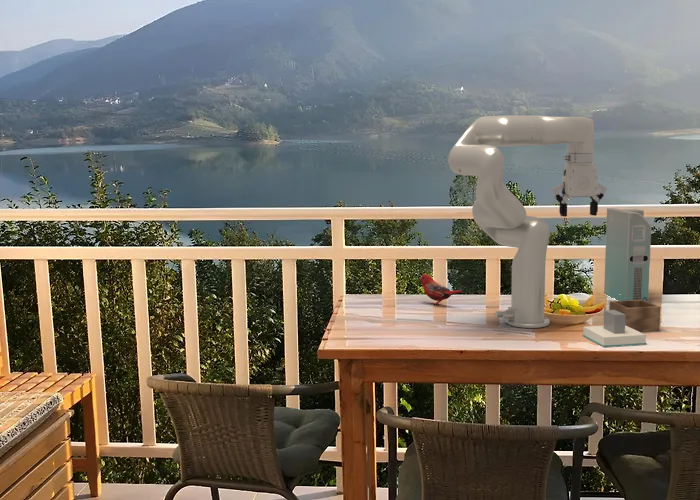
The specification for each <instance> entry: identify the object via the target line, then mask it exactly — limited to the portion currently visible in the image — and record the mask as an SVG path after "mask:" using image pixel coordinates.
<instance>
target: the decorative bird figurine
mask: <svg viewBox="0 0 700 500" xmlns="http://www.w3.org/2000/svg"><path fill="white" fill-rule="evenodd" d="M419 281H421V285H422V288H423V291H424V293H425V295H426V296H427V297H428V298H429V299H431V300H433V301H434V302H430V304H431V305H433V304H437V305H436V306H439V305H440V306H441V305H442V304H441V302H442V301H443V300H448V299H449V298H450V297H452V296H453V295H456V294H459V293H462V292H463V290H450V289H449V288H448V287H446V286H445V285H443V284H441V283H439V282H437V281H435V280H434V279H433V278H432V277H431V276H430V275H429V274H427V273H423V274H422V275H421V276H420V278H419Z"/></svg>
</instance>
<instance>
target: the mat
mask: <svg viewBox="0 0 700 500" xmlns="http://www.w3.org/2000/svg"><path fill="white" fill-rule="evenodd" d="M582 337H583V338H586V339H587V340H590V341H591V342H592V343H593V342H594V343H595V344H597V345H599V346H601V347H602V346H603V348H610V347H609V346H616V347H623V346H622V345H632V346H639V345H638V344H646V345H647V342H646V343H638V344H622V345H606V346H604V345H602V344H600V343H598V342H596V341H594V340H592V339H590V338H589V337H587V336H585V335H583V334H582Z"/></svg>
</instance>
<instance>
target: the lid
mask: <svg viewBox="0 0 700 500" xmlns="http://www.w3.org/2000/svg"><path fill="white" fill-rule="evenodd" d="M582 328H583V329H582V330H583V331H582V336H583V335H585V336H587V337H589V338H590V339H592V340H594V341H596V342H598V343H600V344H602V345H604V346H606V345H622V344H638V343H646V344H647V340H646V339H647V335H646V334H644V332H639V331H636V330H634V329H632V328H630V327H628V326H626V325H625V314H623V313H620V312H618V311H616V310H609V309H607V310H603V325H593V326H592V325H590V326H583V327H582Z"/></svg>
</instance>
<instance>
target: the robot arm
mask: <svg viewBox="0 0 700 500" xmlns="http://www.w3.org/2000/svg"><path fill="white" fill-rule="evenodd" d="M594 133H595V122H594V120H593V119H592V118H591V117H590V118H589V117H586V116H549V115H531V114H530V115H486V116H481V117H478V118H477V119H475V121H473V122H472V123H471V124H470V125H469V126H468V127H467V129H465V131H464V132H463V134H462V135H461V136H460V137H459V139H458V140H457V141H456V143H455V144H454V145H453V147H452V148H451V149H450V151H449V153H448V158H447V159H448V162H447V163H448V166H449V169H450V170H451V171H452V172H453V173H454V174H456V175H459V176H472V177H473V176H474V177H475V176H476V177H478V178H477V183H476V190H475V198H476V199H475V200H474V202H473V204H472V209H471V210H472V211H471V213H472V217H473V220H474V222H475V224H476V225H477V226H478V227H479V228H480V229H481V230H482V231H483V233H485V234H486V235H487V236H488V237H490V239H492V240H493V241H494V242H495V243H496V244H498V245H501V246H504V247H508V248H516V249H517V252H516V254H515V255H514V257H513V259H512V262H511V263H512V264H511V299H510V300H511V304H510V305H511V306H507V309H506V310H499V311H498V310H497V311H495V313H494V316H495V318H496V319H497V318H498V319H499V318H502V319H505V323H506V324H507V325H508V326H512V327H516V328H521V329H522V328H524V329H539V328H545V327H547V326H549V325H550V323H551V322H550V319H549V318H548V317H545V304H546V303H545V301H546V300H545V299H546V292H545V291H546V259H547V250H548V246H549V240H550V234H551V232H550V230H551V229H550V226H549V224H548V223H547V222H546V221H545V220H544V219H543V218H540V217H537V216H530V215H527V210H526V208H525V206H524V205H523V203H522V202H521V201H520V200H519V199H518V198H517V196H515V194H513V192H511V190H509V189H508V187H507V186H506V185H505V184H504V180H503V176H504V165H505V158H504V155H503V153H502V151H501V150H500V149H499V148H498V147H524V146H525V147H527V146H528V147H529V146H530V147H533V146H547V145H548V146H549V145H555V144H556V145H558V144H559V145H560V144H567V153H566V154H565V155H563V156H562V160H563V161H566V163H565V164H564V166H563V167H564V168H563V173H562V177H561V178H562V179H561V183H560V184H558V185H557V186H555V187H553V188H551V192H552V194H553V196H554V198H555V200H557V202H558V203H559V214H560V216H561V217H563V218H566V217H567V216H568V203H567V201H568V200H569V199H570V198H589V199H590V200H591V201H590V203H589V215H590V216H597V215H598V211H599V210H598V209H599V203H600V200H602V198H603V197H604V195H605V194H606V192H607V187H605V186H604V185H602V184H600V183H599V180H598V179H599V177H598V170H597V169H598V168H597V165H596V163H594V142H595V141H594V138H595V137H594V136H595V135H594ZM559 191H561V195H560V193H559Z"/></svg>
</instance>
